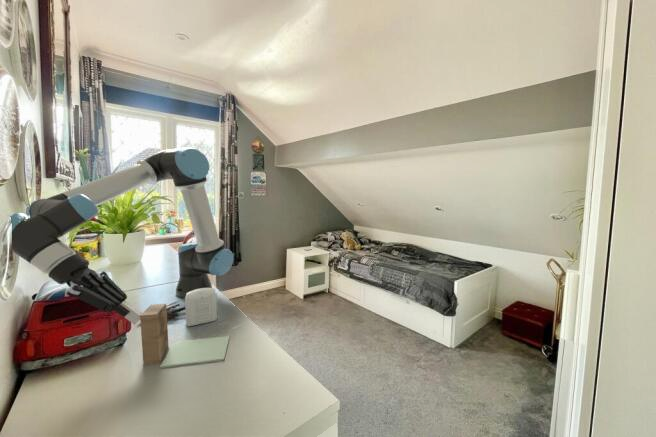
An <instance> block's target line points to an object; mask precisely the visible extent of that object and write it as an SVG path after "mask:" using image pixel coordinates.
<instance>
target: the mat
mask: <svg viewBox="0 0 656 437" xmlns="http://www.w3.org/2000/svg"><path fill="white" fill-rule="evenodd" d="M230 338H231V337H230V335H228V336H227V335H226V336H217V337H207V338H198V339H197V338H196V339H190V340H179V341H175V342H174V343H173V344H172V346H171V347H170V349H169V351H168V352H167V354H166V356H165V358H164V359H163V361H162V363H161V365H160V366H159V368H160V369H163V368H172V367H180V366H188V365H196V364H204V363H212V362H214V363H215V362H220V361H225V357H226V354H227V349H228V346H229V340H230Z"/></svg>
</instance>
